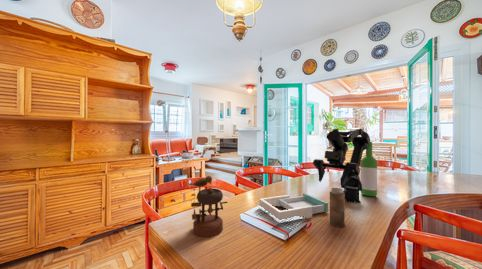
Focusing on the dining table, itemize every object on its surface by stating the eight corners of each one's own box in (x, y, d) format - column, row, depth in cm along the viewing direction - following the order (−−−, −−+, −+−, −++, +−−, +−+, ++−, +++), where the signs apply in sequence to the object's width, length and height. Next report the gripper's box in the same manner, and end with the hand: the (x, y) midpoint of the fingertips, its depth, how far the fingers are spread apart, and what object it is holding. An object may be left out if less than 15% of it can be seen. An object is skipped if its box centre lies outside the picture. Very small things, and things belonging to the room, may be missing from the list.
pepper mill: (341, 221, 77) (341, 187, 77) (346, 227, 72) (346, 191, 72) (327, 220, 78) (327, 187, 78) (332, 226, 73) (332, 190, 73)
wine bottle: (380, 196, 107) (380, 142, 110) (370, 197, 104) (371, 141, 107) (366, 193, 115) (367, 142, 117) (357, 193, 112) (358, 141, 114)
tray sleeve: (288, 203, 97) (288, 194, 97) (312, 217, 81) (312, 206, 81) (259, 208, 91) (259, 198, 91) (279, 223, 75) (279, 212, 75)
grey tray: (304, 200, 99) (304, 193, 99) (328, 211, 85) (328, 202, 85) (277, 205, 94) (277, 196, 93) (298, 217, 79) (298, 208, 79)
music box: (195, 243, 62) (193, 179, 63) (185, 231, 71) (183, 176, 72) (236, 230, 70) (233, 174, 71) (222, 221, 79) (220, 171, 81)
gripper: (313, 142, 93) (302, 171, 87) (356, 144, 79) (347, 178, 73) (321, 155, 99) (312, 182, 93) (363, 158, 85) (355, 191, 79)
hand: (330, 183), depth 84 cm, fingers open, 9 cm apart
